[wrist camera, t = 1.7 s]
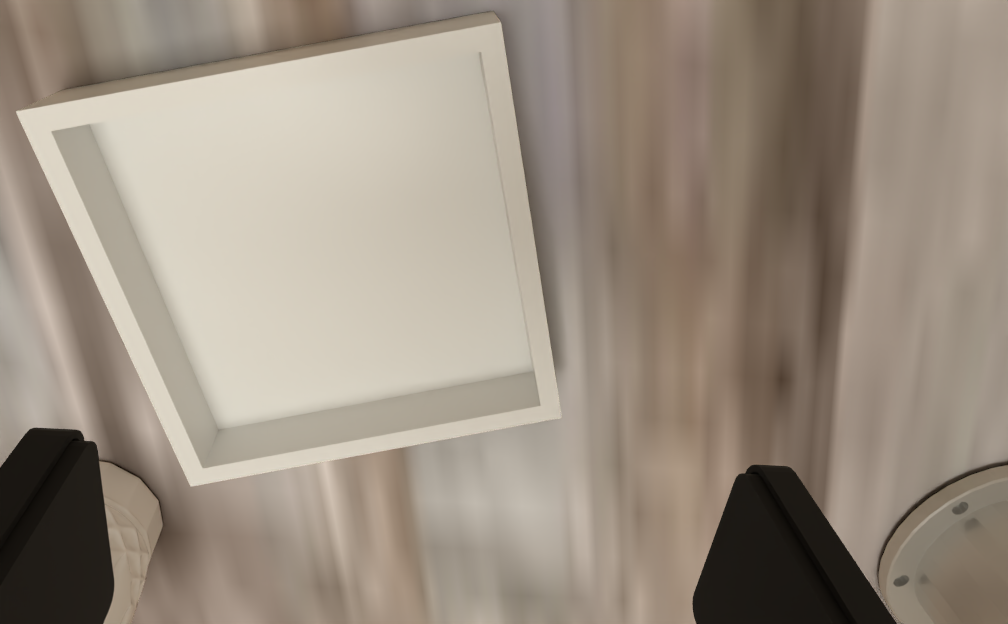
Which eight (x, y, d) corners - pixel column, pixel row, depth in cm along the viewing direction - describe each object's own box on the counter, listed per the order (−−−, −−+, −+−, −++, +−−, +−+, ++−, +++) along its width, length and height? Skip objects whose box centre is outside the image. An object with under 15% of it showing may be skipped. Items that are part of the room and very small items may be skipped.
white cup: (207, 500, 37) (138, 684, 28) (123, 593, 39) (33, 790, 30) (53, 417, 34) (-80, 593, 25) (-29, 522, 36) (-177, 718, 27)
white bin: (492, 10, 28) (500, 22, 24) (550, 373, 35) (561, 417, 32) (62, 89, 27) (15, 111, 24) (211, 436, 35) (190, 486, 32)
